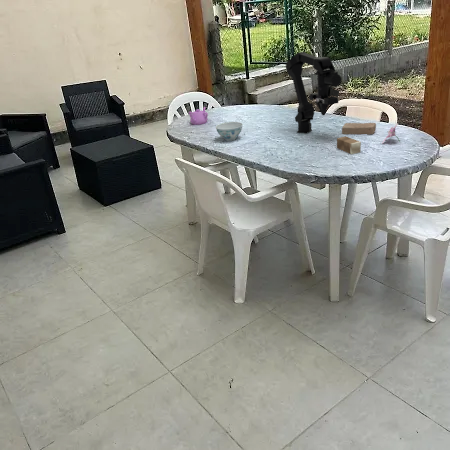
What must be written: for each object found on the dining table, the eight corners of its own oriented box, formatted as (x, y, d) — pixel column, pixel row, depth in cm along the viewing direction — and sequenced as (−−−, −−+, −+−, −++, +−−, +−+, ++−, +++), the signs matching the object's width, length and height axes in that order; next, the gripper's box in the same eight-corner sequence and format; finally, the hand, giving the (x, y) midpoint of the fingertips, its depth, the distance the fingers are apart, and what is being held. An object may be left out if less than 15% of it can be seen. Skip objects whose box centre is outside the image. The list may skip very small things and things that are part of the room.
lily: (392, 138, 227) (383, 123, 224) (413, 133, 217) (404, 116, 214) (381, 152, 222) (372, 136, 219) (401, 147, 212) (392, 130, 209)
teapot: (207, 119, 301) (205, 106, 297) (209, 124, 289) (207, 110, 285) (189, 121, 300) (187, 108, 296) (191, 126, 288) (189, 113, 284)
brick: (341, 134, 239) (341, 126, 237) (344, 130, 246) (344, 121, 244) (373, 135, 232) (373, 126, 230) (376, 131, 239) (376, 122, 237)
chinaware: (230, 133, 263) (229, 120, 260) (249, 136, 253) (247, 123, 250) (212, 140, 254) (210, 127, 251) (230, 144, 244) (229, 130, 241)
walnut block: (336, 138, 218) (351, 144, 208) (345, 136, 219) (360, 141, 209) (336, 148, 220) (351, 154, 210) (345, 146, 221) (360, 152, 211)
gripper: (347, 84, 219) (347, 115, 226) (326, 79, 235) (326, 109, 242) (328, 87, 216) (328, 119, 223) (308, 83, 231) (308, 113, 239)
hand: (323, 115), depth 231 cm, fingers closed
